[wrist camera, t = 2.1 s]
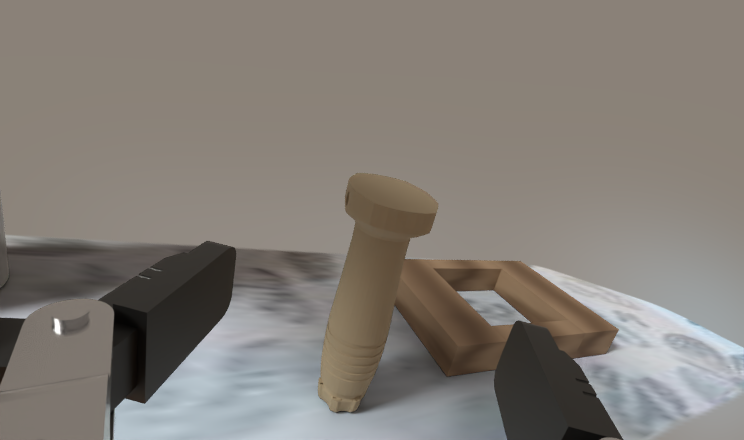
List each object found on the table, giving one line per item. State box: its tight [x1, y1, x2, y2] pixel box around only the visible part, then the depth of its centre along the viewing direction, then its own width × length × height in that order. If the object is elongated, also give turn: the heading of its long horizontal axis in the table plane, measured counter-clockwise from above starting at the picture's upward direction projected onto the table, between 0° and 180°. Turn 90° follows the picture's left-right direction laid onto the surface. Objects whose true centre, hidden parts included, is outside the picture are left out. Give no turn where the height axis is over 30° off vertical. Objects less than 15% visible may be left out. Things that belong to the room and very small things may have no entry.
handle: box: [318, 173, 438, 412], centre depth 24 cm, size 5×6×15 cm
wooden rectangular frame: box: [394, 259, 619, 377], centre depth 40 cm, size 20×14×3 cm
